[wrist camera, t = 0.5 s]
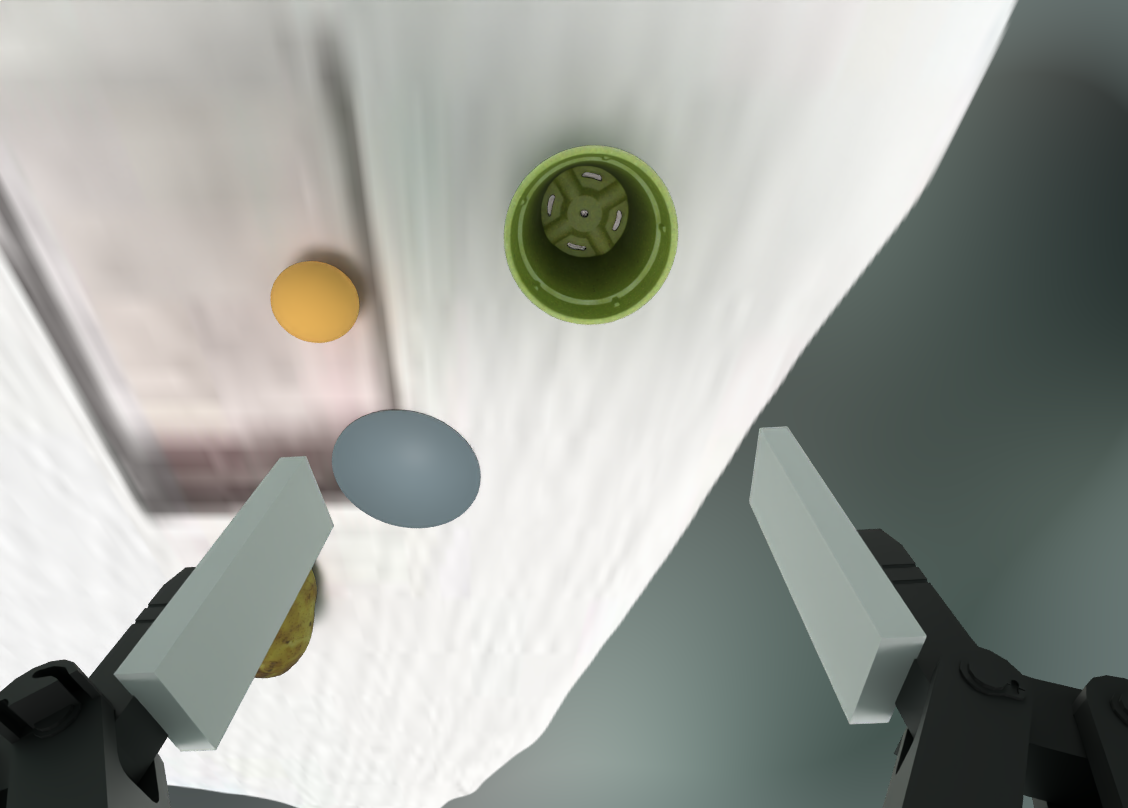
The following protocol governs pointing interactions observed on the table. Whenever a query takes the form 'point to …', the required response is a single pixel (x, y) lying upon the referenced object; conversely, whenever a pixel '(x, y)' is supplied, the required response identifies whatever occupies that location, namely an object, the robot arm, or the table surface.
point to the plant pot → (591, 235)
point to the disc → (406, 469)
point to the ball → (314, 301)
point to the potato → (292, 633)
